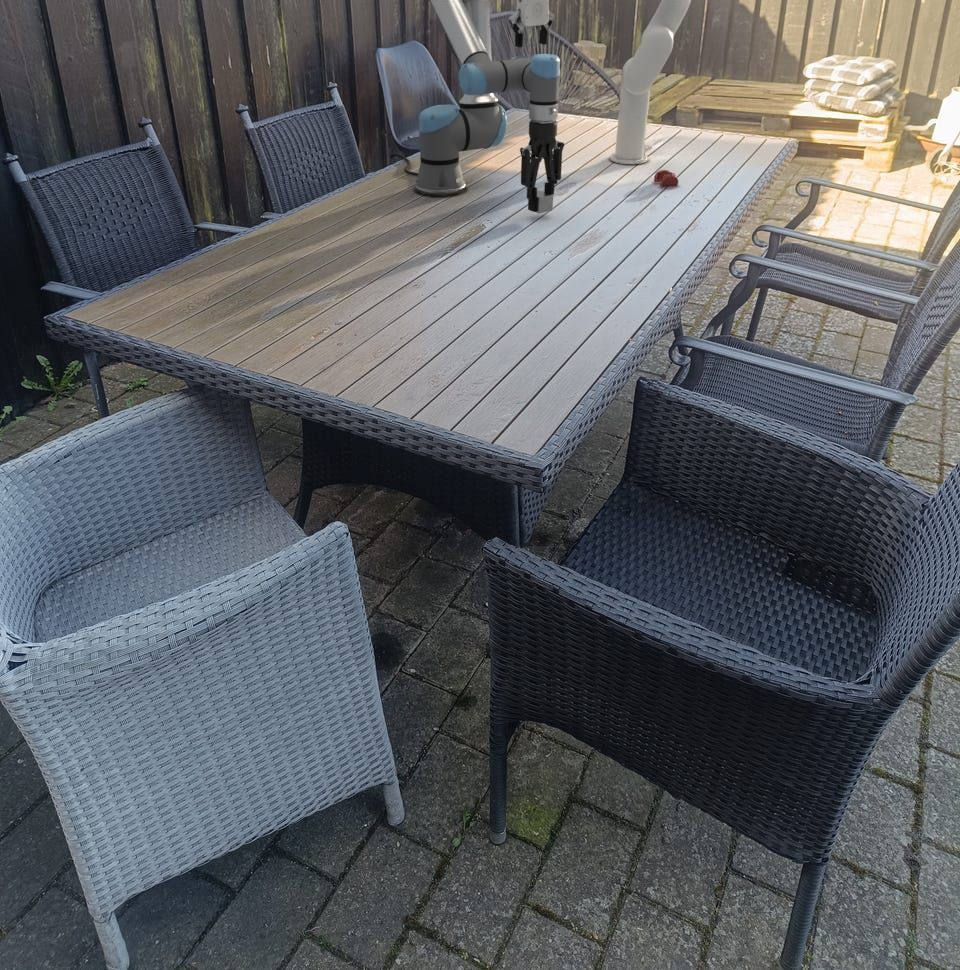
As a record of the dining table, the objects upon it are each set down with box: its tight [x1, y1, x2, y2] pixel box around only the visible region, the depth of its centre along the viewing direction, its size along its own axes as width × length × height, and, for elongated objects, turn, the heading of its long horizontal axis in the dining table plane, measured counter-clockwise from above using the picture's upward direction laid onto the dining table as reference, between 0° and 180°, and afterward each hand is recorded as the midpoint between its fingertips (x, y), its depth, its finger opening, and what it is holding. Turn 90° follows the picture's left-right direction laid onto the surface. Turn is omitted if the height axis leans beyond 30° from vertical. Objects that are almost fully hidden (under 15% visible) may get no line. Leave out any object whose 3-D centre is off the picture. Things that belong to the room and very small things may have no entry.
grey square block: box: [527, 190, 554, 214], centre depth 235 cm, size 5×5×4 cm
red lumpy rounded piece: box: [653, 169, 679, 188], centre depth 261 cm, size 6×4×8 cm
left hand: (540, 208), depth 236 cm, fingers closed on grey square block, 5 cm apart
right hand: (531, 45), depth 269 cm, fingers open, 9 cm apart
